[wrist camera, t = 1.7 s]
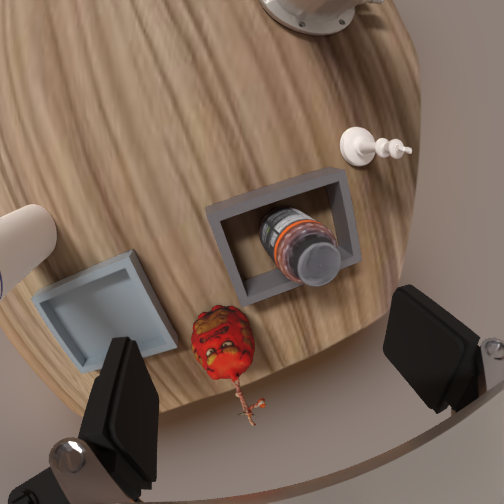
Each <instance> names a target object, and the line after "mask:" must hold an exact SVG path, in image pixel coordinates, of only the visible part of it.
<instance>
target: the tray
mask: <svg viewBox="0 0 504 504" xmlns="http://www.w3.org/2000/svg"><path fill="white" fill-rule="evenodd" d="M31 300H32V302H33V303H34V305H35V307H36V308H37V310H38V312H39V313H40V315H41V317H42V318H43V320H44V321H45V323H46V325H47V326H48V328H49V329H50V331H51V332H52V334H53V335H54V337H55V338H56V340H57V341H58V343H59V344H60V345H61V347H62V348H63V350H64V351H65V352H66V354H67V355H68V357H69V358H70V359H71V361H72V362H73V363H74V364H75V366H76V367H77V368H78V370H79V371H80V372H81V373H86V372H90V371H95V370H99V369H102V366H103V363H104V360H105V357H106V354H107V351H108V348H109V346H110V343H111V340H112V338H116V337H127V336H128V337H130V339H131V340H135V341H136V342H137V345H138V347H139V350H140V353H141V355H142V358H144V357H148V356H151V355H154V354H158V353H161V352H165V351H168V350H171V349H175V348H177V347H178V335H177V333H176V331H175V330H174V328H173V326H172V324H171V322H170V321H169V319H168V317H167V315H166V313H165V311H164V310H163V308H162V306H161V304H160V302H159V300H158V298H157V296H156V294H155V292H154V290H153V288H152V286H151V284H150V282H149V280H148V278H147V276H146V274H145V272H144V270H143V268H142V266H141V264H140V262H139V260H138V257H137V255H136V253H135V251H134V249H132V250H130V251H127V252H125V253H123V254H120V255H118V256H115V257H113V258H110V259H108V260H106V261H103V262H101V263H99V264H96V265H94V266H91V267H89V268H87V269H84V270H82V271H80V272H78V273H75V274H73V275H71V276H68V277H66V278H64V279H62V280H59V281H57V282H55V283H53V284H51V285H48V286H46V287H44V288H42V289H40V290H38V291H37V292H36V293H35V295H34V296H33V297H32V298H31Z"/></svg>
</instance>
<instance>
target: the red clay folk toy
mask: <svg viewBox="0 0 504 504" xmlns="http://www.w3.org/2000/svg"><path fill="white" fill-rule="evenodd" d="M191 341H192V346H191V347H192V351H193V353H194V354H195V358H196V360H197V361H198V362H199V363H200V364H201V365H202V367H203V368H204V369H205V370H206V371H207V373H208V375H209V376H210V377H211V378H212V379H213V380H217V379H220V378H221V379H229V378H231V381H232V383H233V384H234V386H235V387H236V389H237V392H236V396H237V397H240V400H241V403H242V407H243V410H244V413H240V414H238V416H240V415H243V414H244V415H248V419H249V421H250V423H251V424H252V426H253V425H256V424H255V423H254V422H253V421H252V419H251V416H252V415H253V416H256V415H254V414H252V411H251V409H252V408H256V407H262V408H263V407H265V399H264V398H261V399H259V400H258V402H257V403H256V404H254V405H251V406H250V407H249V406H248V405H247V404H246V402H245V400H244V398H243V395H242V391H241V390H240V385H239V376H240V375H241V374H242V373H244V372H245V371H246V370H247V369H248V368H249V366H250V365H251V364H252V361H253V355H254V351H255V343H254V337H253V333H252V329H251V327H250V324H249V321H248V319H247V317H246V316H245V315H244V314H243V313H242V312H241V311H240V310H238V309H237V308H236V307H234V306H227V307H225V306H222V305H216V306H214V307H213V308H212V310H211V311H210V312H203V313H201V314H200V315H199V316H198V320H196V321H195V322H194V324H193V333H192V337H191Z"/></svg>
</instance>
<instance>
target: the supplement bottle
mask: <svg viewBox="0 0 504 504" xmlns="http://www.w3.org/2000/svg"><path fill="white" fill-rule="evenodd" d="M259 237H260V240H261V243H262V245H263V246H264V248H265V249H266V251H267V252H268V254H269V255H270V256H271V258H272V259H273V261H274V262H275V264H276V265H277V267H278V268H279V269H280V271H281V272H282V273H283V274H284V276H286V277H287V278H288V279H290V280H291V281H294V282H297V283H302V284H306V285H309V286H312V287H319V286H323V285H325V284H327V283H329V282H330V281H332V280H333V279H334V278H335V277H336V275H337V274H338V272H339V269H340V266H341V256H340V253H339V251H338V249H337V242H336V239H335V237H334V235H333V234H332V232H331V231H330V230H329V229H328V228H327V227H325V226H324V225H322V224H321V223H319V222H318V221H316V220H315V219H313V218H311V217H309V216H308V215H306V213H305V214H304V213H303V212H301V211H299V210H297V209H295V208H293V207H288V206H281V207H277V208H275V209H272V210H271V211H269V212H268V213H267V214H266V215H265V216H264V218H263V220H262V222H261V224H260V228H259Z"/></svg>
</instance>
